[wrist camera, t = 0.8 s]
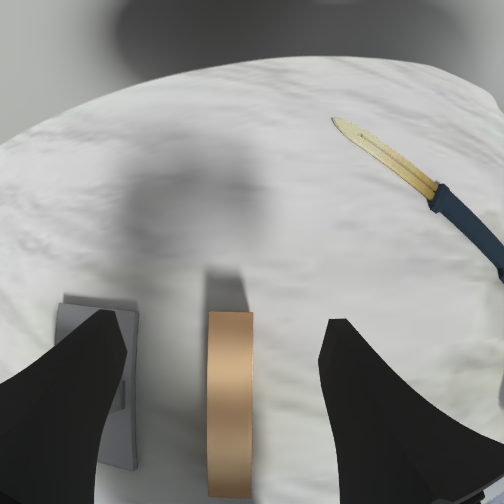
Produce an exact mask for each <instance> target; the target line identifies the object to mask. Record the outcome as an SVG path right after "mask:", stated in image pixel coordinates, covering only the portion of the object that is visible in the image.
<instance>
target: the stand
mask: <svg viewBox="0 0 504 504" xmlns="http://www.w3.org/2000/svg"><path fill="white" fill-rule="evenodd" d="M99 309H104V310H113V311H115V314H116V317H117V321H118V324H119V327H120V330H121V333H122V336H123V340H124V343H125V346H126V348H127V351H128V353H127V357H126V362H125V366H124V370H123V374H122V378H121V380H120V383H119V386H118V389H117V391H116V394H115V397H114V400H113V402H112V405H111V408H110V411H109V414H108V416H107V419H106V422H105V425H104V428H103V432H102V436H101V441H100V446H99V452H98V458H97V462H100V463H104V464H107V465H111V466H115V467H119V468H123V469H127V470H131V471H134V470H135V469H136V468H137V456H136V435H135V371H136V348H137V332H138V319H139V313H137V312H135V311H126V310H116V309H106V308H97V307H89V306H81V305H73V304H65V303H59V305H58V313H57V322H56V333H55V345H57V344H58V343H59V342H60V341H61V340H63V339H64V338H65V337H66V336H67V335H68V334H70V333H71V332H72V331H73V330H74V329H76V328H77V327H78V326H79V325H80V324H82V323H83V322H84V321H85V320H86V319H88V318H89V317H90V316H91V315H92V314H94V313H95V312H96V311H98V310H99Z"/></svg>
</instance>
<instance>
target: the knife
mask: <svg viewBox="0 0 504 504" xmlns="http://www.w3.org/2000/svg"><path fill="white" fill-rule="evenodd" d="M333 122H334V124H335V126H336V127H337V128H338V129H339V130H340V131H341V132H342V133H343V134H344V135H345V136H346V137H347V138H348V139H350V140H351V141H352V142H353V143H355V144H356V145H358V146H359V147H361V148H362V149H364V150H365V151H366V152H368V153H369V154H371V155H372V156H374V157H375V158H376V159H378V160H379V161H380V162H382V163H383V164H384V165H386V166H387V167H388V168H390V169H391V170H392V171H394V172H395V173H396V174H398V175H399V176H400V177H401V178H403V179H404V180H405V181H407V182H408V183H409V184H410V185H411V186H413V187H414V188H415V189H416V190H418V191H419V192H420V193H421V194H422V195H424V196H425V197H426V198H427V199H428V200H429V201H430V203H429V205H428V206H429V208H430V210H432V211H433V212H435V213H438V212H440V213H442V214H443V215H444V216H445V217H446V218H447V219H448V220H449V221H451V222H452V223H453V224H454V225H455V226H456V227H457V228H458V229H459V230H460V231H461V232H462V233H463V234H464V235H465V236H466V237H468V238H469V239H470V240H471V241H472V242H473V243H474V244H475V245H476V246H477V247H478V248H479V249H480V250H481V251H482V253H483V254H484V255H485V256H486V257H487V258H488V259H489V260H490V261H491V262H492V263H493V264H494V265H495V267H496V268H497V269H498V272H499V279H500V280H501V281H502V282H503V283H504V246H503V244H502V243H501V242H500V241H499V240H498V239H497V238H496V236H495V235H494V234H493V233H492V232H491V231H490V230H489V229H488V228H487V227H486V226H485V225H484V224H483V223H482V221H481V220H480V219H479V218H478V217H477V216H476V215H475V214H474V213H473V212H472V211H471V210H470V209H469V208H468V207H467V206H465V205H464V204H463V203H462V202H461V201H460V200H459V199H458V198H457V197H456V196H455V195H454V194H453V193H452V192H451V191H450V190H449V188H448V187H447V186H446V185H445V184H439V185H437V184H436V183H435V182H433V181H432V180H431V179H430V178H429V177H427V176H426V175H425V174H424V173H423V172H421V171H420V170H419V169H418V168H416V167H415V166H414V165H413V164H411V163H410V162H409V161H408V160H406V159H405V158H404V157H402V156H401V155H400V154H398V153H397V152H396V151H394V150H393V149H392V148H390V147H389V146H387V145H386V144H385V143H383V142H382V141H380V140H379V139H378V138H376V137H375V136H373V135H372V134H370V133H369V132H367V131H366V130H364V129H363V128H361V127H359V126H357V125H355V124H353V123H351V122H348V121H345V120H342V119H338V118H333Z"/></svg>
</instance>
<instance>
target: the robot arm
mask: <svg viewBox="0 0 504 504" xmlns="http://www.w3.org/2000/svg"><path fill="white" fill-rule="evenodd" d="M127 353H128V351H127V348H126V346H125V343H124V340H123V336H122V333H121V330H120V327H119V324H118V321H117V317H116V314H115V311H113V310H104V309H99V310H98V311H96V312H95V313H94V314H92V315H91V316H90V317H89V318H88V319H86V320H85V321H84V322H83V323H82V324H80V325H79V326H78V327H77V328H76V329H74V330H73V331H72V332H71V333H70V334H68V335H67V336H66V337H65V338H64V339H63V340H61V341H60V342H59V343H58V344H57V345H55V346H54V347H53V348H52V349H50V350H49V351H48V352H46V353H45V354H44V355H43V356H41V357H40V358H39V359H38V360H36V361H35V362H34V363H32V364H31V365H30V366H28V367H27V368H25V369H24V370H22V371H21V372H19V373H18V374H16V375H15V376H13V377H11V378H10V379H8V380H6V381H4V382H3V383H1V384H0V504H94V487H95V473H96V465H97V458H98V452H99V446H100V441H101V436H102V432H103V428H104V425H105V422H106V419H107V416H108V414H109V411H110V408H111V405H112V402H113V400H114V397H115V394H116V391H117V389H118V386H119V383H120V380H121V378H122V374H123V370H124V366H125V362H126V357H127ZM318 365H319V374H320V382H321V388H322V392H323V396H324V400H325V404H326V408H327V412H328V416H329V420H330V424H331V428H332V432H333V436H334V441H335V447H336V453H337V463H338V473H339V488H340V504H481V502H480V501H481V500H483V499H484V498H485V495H484V492H483V490H484V489H486V488H487V487H489V486H490V485H492V484H494V483H495V482H497V481H498V480H499V479H501V478H502V477H504V444H502V443H500V442H497V441H495V440H493V439H490V438H488V437H485V436H483V435H481V434H479V433H477V432H475V431H473V430H471V429H469V428H467V427H466V426H464V425H462V424H460V423H459V422H457V421H455V420H454V419H452V418H451V417H449V416H448V415H446V414H445V413H443V412H442V411H440V410H439V409H437V408H436V407H435V406H433V405H432V404H431V403H429V402H428V401H427V400H426V399H424V398H423V397H422V396H421V395H420V394H418V393H417V392H416V391H415V390H414V389H412V388H411V387H410V386H409V385H408V384H407V383H406V382H405V381H404V380H403V379H402V378H401V377H400V376H398V375H397V374H396V373H395V372H394V371H393V370H392V369H391V368H390V367H389V366H388V365H387V364H386V362H385V361H384V360H383V359H382V358H381V357H380V356H379V355H378V354H377V353H376V352H375V351H374V350H373V348H372V347H371V346H370V345H369V344H368V343H367V342H366V341H365V339H364V338H363V337H362V336H361V335H360V334H359V333H358V331H357V330H356V329H355V328H354V327H353V326H352V324H351V323H350V322H349V321H348V320H347V319H329V321H328V325H327V329H326V332H325V336H324V340H323V344H322V347H321V351H320V355H319V358H318ZM484 504H504V492H502V493H501V494H499V495H497V496H496V497H494V498H493V499H491V500H490V501H488V502H486V503H484Z"/></svg>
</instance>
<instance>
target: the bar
mask: <svg viewBox="0 0 504 504" xmlns="http://www.w3.org/2000/svg"><path fill="white" fill-rule="evenodd" d="M252 382H253V312H216V311H209V331H208V367H207V471H208V496H210V497H227V498H251V459H252Z"/></svg>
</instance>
